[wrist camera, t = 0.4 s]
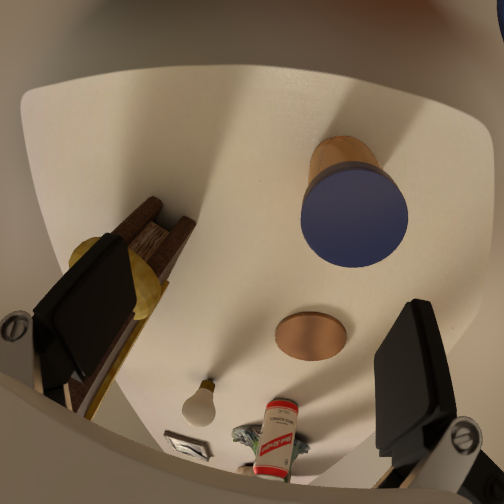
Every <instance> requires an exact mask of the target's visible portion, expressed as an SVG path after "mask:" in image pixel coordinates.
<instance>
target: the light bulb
mask: <svg viewBox="0 0 504 504" xmlns="http://www.w3.org/2000/svg"><path fill="white" fill-rule="evenodd" d="M214 388H215V384H214V383H213V382H212V381H211V380H203V381H202V383H201V385H200V387H199V389H198V390H197V392H196V393H195V394H194V395H193V396H192V397H190V398H189V399H187V400H186V401H185V403H184V405H183V408H182V414H183V417H184V419H185V420H186V422H187V423H189V424H190V425H192V426H194V427H205V426H207V425H209V424H210V423H211V422H212V421H213V420H214V417H215V407H214V404H213V392H214Z"/></svg>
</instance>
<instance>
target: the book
mask: <svg viewBox="0 0 504 504" xmlns="http://www.w3.org/2000/svg"><path fill="white" fill-rule="evenodd" d="M162 205H163V203H162V202H161V200H159V199H157V198H156V197H154V196H152V197H149V198H148V199H147V200H146V201H145V202H144V203H143V204H141V205H140V206H139V207H138V208H137V209H136V210H135V211H134V212H133V213H132V214H130V215H129V216H128V217H127V218H126V219H125V220H124V221H123V222H122V223H121V224H120V225H119V226H118V227H117V228H116V229H115V230H114V231H113V232H111V233H112V234H116V235H121V236H122V237H123V238H124V241H126V242H127V245H128V252H129V258H130V264H131V270H132V275H133V281H134V286H135V291H136V296H137V303H136V306H135V308H134V309H133V311H132V312H131V314H130V316H129V317H128V319H127V320H126V322H125V323H124V325H123V326H122V328H121V329H120V331H119V333H118V334H117V336H116V337H115V339H114V340H113V342H112V344H111V345H110V347H109V348H108V350H107V352H106V353H105V355H104V356H103V358H102V360H101V361H100V363H99V365H98V366H97V368H96V370H95V371H94V373H93V374H92V376H91V377H89V378H88V377H87V378H86V380H85V382H84V383H81V382H79V381H78V380H76V379H74V378H72V377H70V379H69V381H68V387H69V393H70V399H71V405H72V410H73V412H74V413H76V414H78V415H80V416H82V417H84V418H85V419H87V420H89V421H91V422H92V420H93V418H94V416H95V414H96V412H97V410H98V408H99V407H100V404H101V403H102V401H103V399H104V397H105V395H106V393H107V392H108V390H109V388H110V386H111V384H112V382H113V380H114V379H115V377H116V375H117V373H118V371H119V370H120V368H121V366H122V364H123V362H124V361H125V359H126V357H127V355H128V354H129V352H130V350H131V348H132V347H133V345H134V343H135V341H136V340H137V338H138V336H139V334H140V333H141V331H142V329H143V328H144V326H145V324H146V323H147V321H148V319H149V317H150V316H151V314H152V312H153V311H154V309H155V307H156V306H157V304H158V302H159V301H160V299H161V298H162V296H163V294H164V292H165V290H166V288H167V286H168V284H169V282H168V281H167V278H168V277H169V275H170V273H171V271H172V269H173V267H174V265H175V263H176V261H177V259H178V257H179V255H180V253H181V252H182V250H183V248H184V246H185V244H186V242H187V240H188V239H189V237H190V235H191V233H192V231H193V229H194V227H195V226H196V223H195V221H193V220H192V219H190V218H189V217H187V216H183V217H182V218H181V219H180V220H179V222H178V223H177V224H176V225H175V226H174V228H173V229H172V230H171V231H170V232H168V231H167V230H165V229H163V228H162V227H160V226H159V225H157V224H155V221H156V219H157V216H158V214H159V212H160V209H161V207H162ZM100 238H101V237H93V238H90V239H88V240H86V241H84V242H82V243H81V244H80V245H79V246H78V247H77V248H76V249H75V250H74V251H73V253H72V255H71V258H70V260H69V269H70V268H71V267H72V266H73V265H74V264H75V263H76V262H77V261H78V260H79V259H80V258H81V257H82V256H83V255H84V254H85V253H86V252H87V251H88V250H89V249H90V248H91V247H92V246H93V245H94V244H95V243H96V242H97V241H98V240H99V239H100Z"/></svg>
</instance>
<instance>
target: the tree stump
mask: <svg viewBox="0 0 504 504" xmlns="http://www.w3.org/2000/svg"><path fill="white" fill-rule="evenodd" d="M261 429H262V426H256V425H251V426H240V427H238V428H234V429H233V431H232V437H233V438H234V440H233V442H237V441H238V442H240V443H241V444H245V445H246V446H249V447H251V448H252V450H253V451H254V453H255V456H256V452H257V448H258V443H259V439H260V434H261ZM308 450H310V447H309V446H308V445H307V444H305V443H303V442H301V441H300V440H298V439H296V438H294V443H293V449H292V455H291V461H290V467H289V472H288V474H287V475H286V476H285V477H284V481H282V482H285V483H288V480H289V475H290V470H291V466H292V463H293V461H294V460H295V459H296V458H297V456H298V454H304V453H308Z"/></svg>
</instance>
